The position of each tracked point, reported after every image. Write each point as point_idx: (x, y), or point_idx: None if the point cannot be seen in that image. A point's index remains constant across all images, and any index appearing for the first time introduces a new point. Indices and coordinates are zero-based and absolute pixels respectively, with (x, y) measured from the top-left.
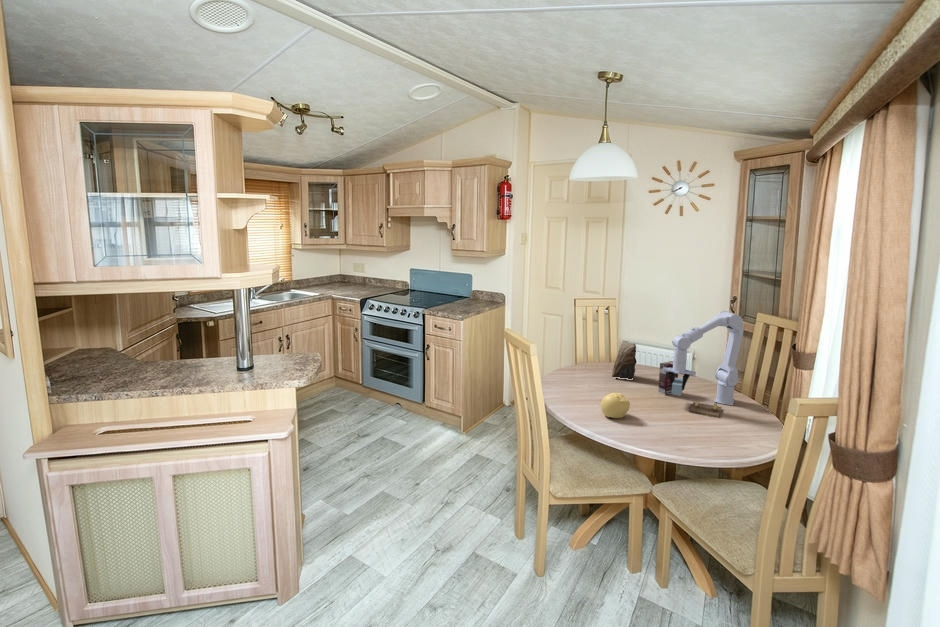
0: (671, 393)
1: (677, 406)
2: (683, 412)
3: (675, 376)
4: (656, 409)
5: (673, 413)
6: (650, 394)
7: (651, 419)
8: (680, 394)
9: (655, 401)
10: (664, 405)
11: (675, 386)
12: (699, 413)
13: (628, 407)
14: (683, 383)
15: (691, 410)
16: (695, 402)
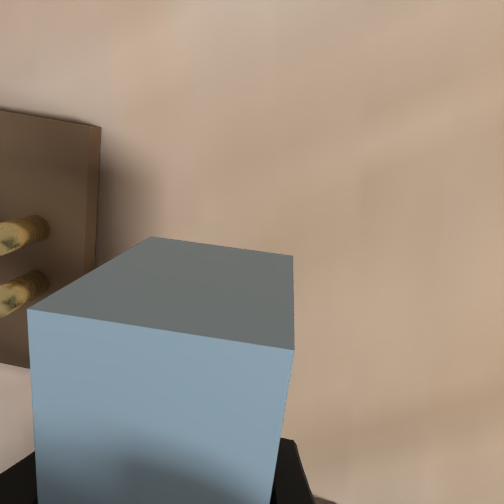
0: (291, 259)
1: None
2: (156, 99)
3: None
4: (447, 74)
5: (255, 15)
6: (472, 495)
7: None
8: (143, 242)
9: (438, 328)
10: (350, 242)
11: (205, 310)
12: (1, 110)
13: None
14: (16, 497)
15: (70, 126)
16: None
